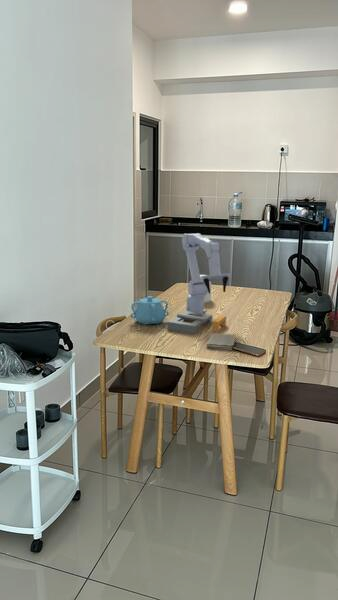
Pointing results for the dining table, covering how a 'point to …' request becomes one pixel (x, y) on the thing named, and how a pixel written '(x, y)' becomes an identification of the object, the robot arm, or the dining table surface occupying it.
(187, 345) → the dining table surface
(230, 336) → the washcloth
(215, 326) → the notched orange plank
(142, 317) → the decorative pot
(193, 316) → the grey frame
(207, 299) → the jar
